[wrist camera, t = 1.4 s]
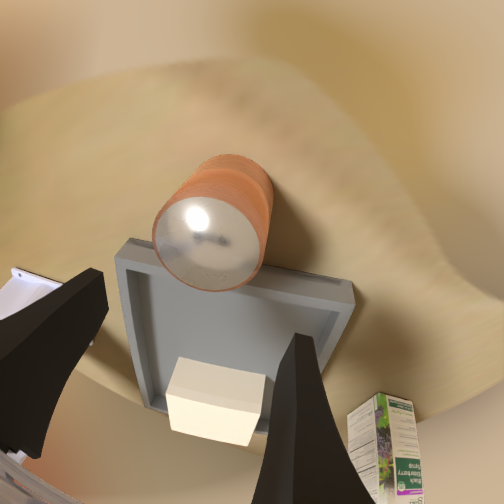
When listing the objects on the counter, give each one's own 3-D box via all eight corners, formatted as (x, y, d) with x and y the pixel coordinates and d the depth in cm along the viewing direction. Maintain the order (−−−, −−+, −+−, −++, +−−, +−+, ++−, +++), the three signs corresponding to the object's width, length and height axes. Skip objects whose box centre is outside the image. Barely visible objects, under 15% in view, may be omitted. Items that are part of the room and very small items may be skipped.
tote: (151, 390, 33) (144, 407, 31) (130, 237, 22) (114, 256, 19) (285, 418, 33) (283, 437, 30) (351, 281, 21) (355, 305, 19)
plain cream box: (181, 398, 31) (171, 429, 28) (178, 356, 27) (165, 393, 23) (252, 413, 31) (247, 446, 28) (265, 374, 27) (260, 414, 23)
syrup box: (413, 399, 29) (429, 516, 16) (379, 422, 32) (385, 529, 20) (378, 390, 28) (389, 522, 16) (344, 414, 31) (344, 532, 19)
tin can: (188, 224, 20) (153, 280, 15) (193, 148, 18) (151, 184, 12) (265, 239, 20) (254, 302, 15) (281, 162, 17) (274, 205, 12)
